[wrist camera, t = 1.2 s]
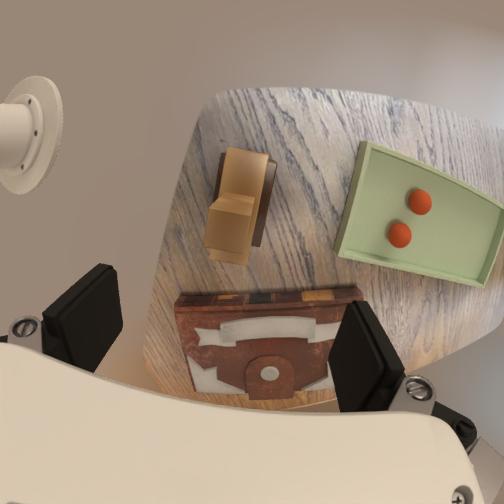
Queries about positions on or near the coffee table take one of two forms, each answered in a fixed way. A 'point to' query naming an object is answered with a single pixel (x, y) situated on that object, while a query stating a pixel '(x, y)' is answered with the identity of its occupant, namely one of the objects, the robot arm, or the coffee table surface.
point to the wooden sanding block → (236, 206)
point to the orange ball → (420, 202)
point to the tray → (419, 219)
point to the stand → (263, 200)
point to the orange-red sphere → (399, 235)
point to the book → (261, 340)
